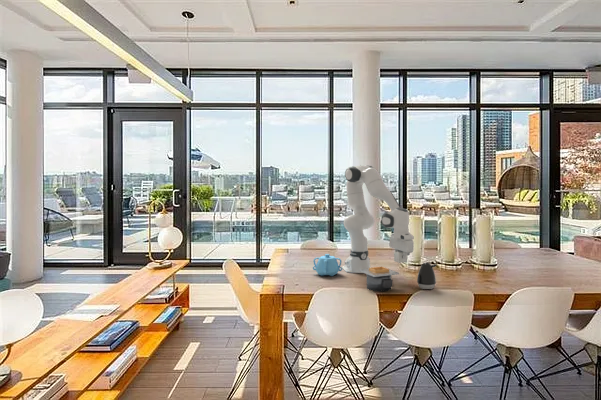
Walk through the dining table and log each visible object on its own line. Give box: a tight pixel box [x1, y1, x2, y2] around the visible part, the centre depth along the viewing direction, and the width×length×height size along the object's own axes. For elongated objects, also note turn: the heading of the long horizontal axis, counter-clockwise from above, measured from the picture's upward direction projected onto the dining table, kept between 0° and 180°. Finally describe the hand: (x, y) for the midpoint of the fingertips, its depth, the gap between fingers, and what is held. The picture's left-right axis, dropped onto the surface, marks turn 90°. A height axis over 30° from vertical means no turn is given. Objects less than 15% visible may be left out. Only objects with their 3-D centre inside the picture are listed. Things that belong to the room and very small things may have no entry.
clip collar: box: [369, 266, 390, 273], centre depth 245 cm, size 8×9×2 cm
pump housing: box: [393, 250, 411, 264], centre depth 259 cm, size 5×9×7 cm, turn 112°
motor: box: [360, 268, 400, 292], centre depth 244 cm, size 18×16×10 cm
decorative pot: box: [312, 253, 343, 277], centre depth 282 cm, size 16×16×14 cm
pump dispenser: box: [416, 261, 437, 290], centre depth 243 cm, size 10×10×15 cm
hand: (400, 257), depth 259 cm, fingers closed on pump housing, 5 cm apart
